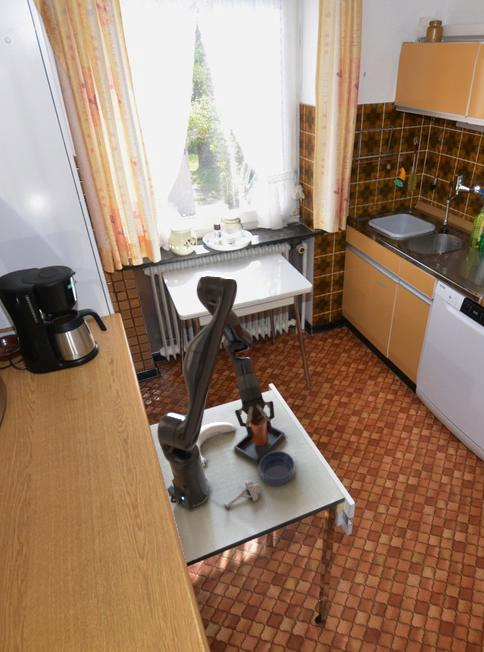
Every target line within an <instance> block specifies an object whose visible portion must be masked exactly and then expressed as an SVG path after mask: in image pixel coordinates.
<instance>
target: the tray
mask: <svg viewBox="0 0 484 652" xmlns="http://www.w3.org/2000/svg"><path fill="white" fill-rule="evenodd" d="M271 426H272V430H271V433H268V438H269V440H268V442H267V443H266V444H265V445H263V446H257V445H255V444H254V443H253V442H252V438H250V436H248V434H246V435H244V437H242V439H240V440H239V441H238V442H236V444H235V445H234V446H233V450H234V452H235V453H237V454H239V455H240V456H242V457H243V458H246V459H247V460H249V461H250V462H252V463H254V464H255V465H258V466H259V463H260V461H261V459H262V458H263V457H264V456H265V455H266V454H268V453H270V452H273V449H275V448H276V447H277V446H278V444H279V443H280V442H282V440H283V439H285V437H286V436H285V435H286V434H285V432H284V431H282V430H280V429H278V428H277V427H275V426H273V425H271Z"/></svg>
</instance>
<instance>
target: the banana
mask: <svg viewBox="0 0 484 652" xmlns="http://www.w3.org/2000/svg"><path fill="white" fill-rule="evenodd" d="M235 430H236V428H235V425H233V424H232V423H231V422H223V421H221V422H219V421H218V422H217V421H216V422H211V423H207V424H205V425H203V426H201V431H200V435H199V438H198V441H197V443H196V445H197V446H198V448H199V451H200V456H201V460H202V464H203V467H206V462H207V459H206V458H205V457H204V456H203V455H202V453H201V446H202V444H203V443H204V442H205V441H206V440H207V439H208V438H210V437H212V436H214V435H218V434H224V433H225V434H226V433H230V432H234V431H235Z"/></svg>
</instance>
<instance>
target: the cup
mask: <svg viewBox="0 0 484 652" xmlns="http://www.w3.org/2000/svg"><path fill="white" fill-rule="evenodd" d="M250 427H251V431H252V435H253V437H252V442H253V443H254V444H255V445H257V446H263V445H265V444H266V443H267V442H268V440H269V438H268V429H267V420H266V417H265V416H263V415H256V416H253V417H251V420H250Z"/></svg>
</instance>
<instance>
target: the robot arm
mask: <svg viewBox="0 0 484 652" xmlns="http://www.w3.org/2000/svg"><path fill="white" fill-rule="evenodd" d="M237 295H238V283H237V281H236V279H235V278H233V277H229V276H224V275H217V274H203V275H202V276H201V277H200V278H199V280H198V281H197V285H196V296H197V298H198V301H199V303H200V304H201V305H202V306H203V307H204V308H205V309H206V311H208V313H209V314H210V315H211V319H210V320H209V321H208V323H207V324H206V325H205V326H204V327H203V329H201V330H200V331H199V332H198V333H197V334H196V335H195V336H194V337H193V338H192V340H191V341H189V343H188V346H187V348H186V351H185V356H184V358H183V362H182V366H181V367H182V375H183V379H184V383H185V387H186V392H187V396H188V398H187V399H188V401H187V409H186V414H181V413H178V412H174V411H170V412H166V413H165V414H164V415H163V416H162V417H161V418H160V419H159V422H158V424H157V431H156V434H157V435H156V436H157V440H158V444H159V446H160V449H161V451H162V454H163V456H164V458H165V459H166V461H167V462H168V463H169V467H170V469H171V473H172V477H173V478H172V480H171V483H172V484H171V485H170V486H169V487H167V488H166V490H167V494H168V493H169V494H168V496H169V497H171V498H170V502H171V503H172V504H176V503H178V504H182V505H183V506H185V507H186V508H187V509H189V510H191V509H193V508H196V507H198V506H200V505H202V504H204V503H205V502H206V501H207V499H208V497H209V494H210V489H209V485H208V479H207V477H206V473H205V469H204V466H203V464H202V460H201V456H202V455H201V456H200V453H201V450H200V451H199V448H198V446H197V445H196V443H197V441H198V438H199V435H200V431H201V427H203V426H202V425H203V421H204V415H205V409H206V403H207V397H208V394H209V391H210V387H211V383H212V379H213V375H214V372H215V369H216V366H217V362H218V358H219V355H220V350H221V345H222V346H223V348H224V351H225V352H226V354H227V355H228V357H229V359H230V361H231V363H232V366H233V369H234V373H235V377H236V384H237V389H238V394H239V398H240V402H241V408H238V409H236V410H234V414H235V416H236V419H237V421H238V424H239V426H240V427H243V428H245V429H246V433H247V434H248V436H250V438H252V437H253V435H252V431H251V427H250V420H251V417H253V416H256V415H263V416H265V417H266V420H267V429H268V433H271V430H272V426H273V425H272V423H271V421H272V420H273V419H275V418H276V417H275V410H274V409H275V408H274V401H273V400H269V401H265V400H264V397H263V394H262V390H261V385H260V381H259V377H258V375H257V373H256V369H255V364H254V361H253V359H252V358H251V357H247V356H246V357H239V356H238V355H237V354H239V353H244V352H247V351H250V350H251V349H252V348H253V346H254V340H253V337H252V335H251V334H250V332H249V331H248V330H247V329H246V328H244V327H243V325H242V322H241V320H240V318H239V316H238V315H237V314H236V313H235V311H233V308H234V304H235V301H236V297H237ZM265 407H267V408H268V409H269V410H268V411H269V415H268V414H267V413H266V411H264V410H265ZM243 412H244V413H245V414H246V420H245V422H244V421H243V418H242V414H243ZM247 434H246V435H247Z"/></svg>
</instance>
